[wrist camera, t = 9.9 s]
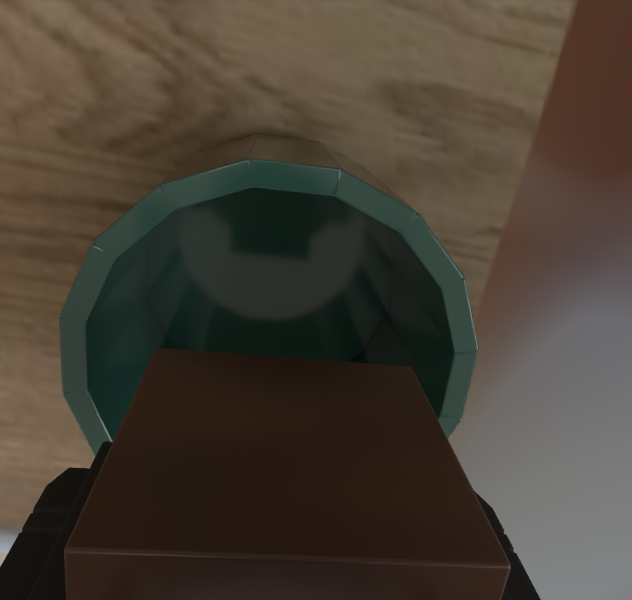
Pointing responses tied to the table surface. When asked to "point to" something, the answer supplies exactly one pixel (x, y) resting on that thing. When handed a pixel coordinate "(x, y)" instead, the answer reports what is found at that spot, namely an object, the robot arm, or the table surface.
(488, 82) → the table surface
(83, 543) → the block
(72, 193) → the table surface
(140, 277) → the tin
